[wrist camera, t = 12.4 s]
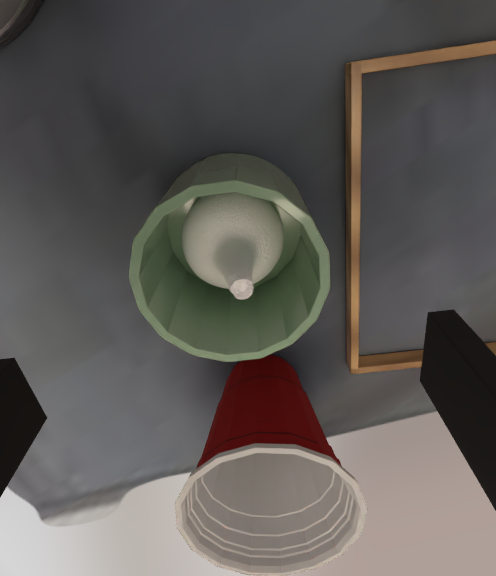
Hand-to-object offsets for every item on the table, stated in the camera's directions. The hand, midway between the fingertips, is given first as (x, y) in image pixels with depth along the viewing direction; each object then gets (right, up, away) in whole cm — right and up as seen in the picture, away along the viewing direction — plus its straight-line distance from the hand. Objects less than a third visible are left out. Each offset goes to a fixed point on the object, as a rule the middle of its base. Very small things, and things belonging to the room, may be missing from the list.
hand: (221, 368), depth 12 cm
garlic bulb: (0, +7, +13) cm, 14 cm away
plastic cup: (+2, -5, +19) cm, 20 cm away
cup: (0, +7, +13) cm, 15 cm away
